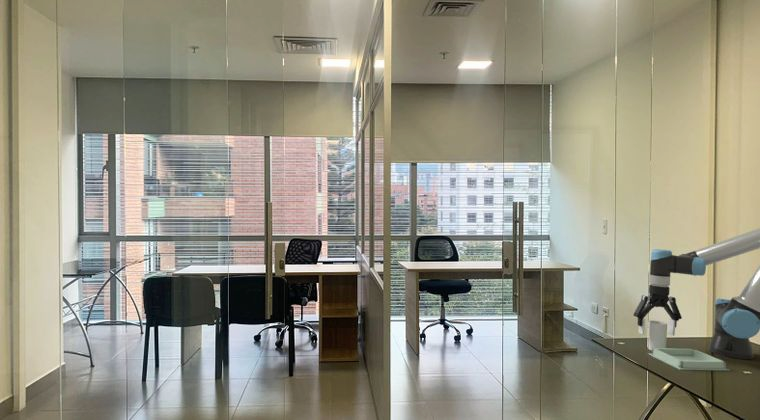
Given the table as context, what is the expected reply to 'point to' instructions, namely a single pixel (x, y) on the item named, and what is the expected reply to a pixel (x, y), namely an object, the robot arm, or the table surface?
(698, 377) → the table surface
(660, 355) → the tray
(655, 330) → the mug
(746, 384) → the table surface
